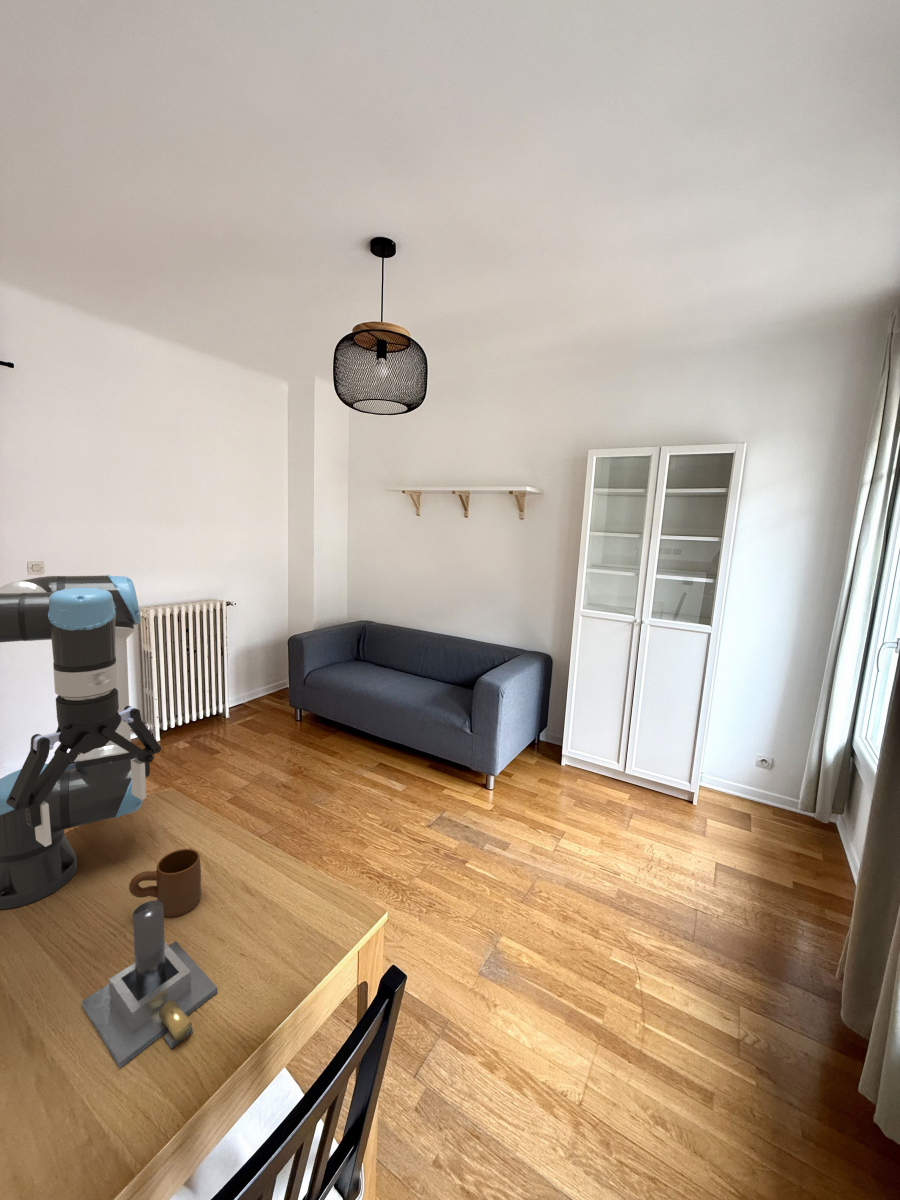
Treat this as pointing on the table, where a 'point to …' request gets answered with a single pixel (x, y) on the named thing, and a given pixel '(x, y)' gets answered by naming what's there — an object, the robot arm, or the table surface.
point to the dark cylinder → (149, 947)
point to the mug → (173, 882)
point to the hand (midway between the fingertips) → (95, 817)
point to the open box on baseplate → (149, 1006)
